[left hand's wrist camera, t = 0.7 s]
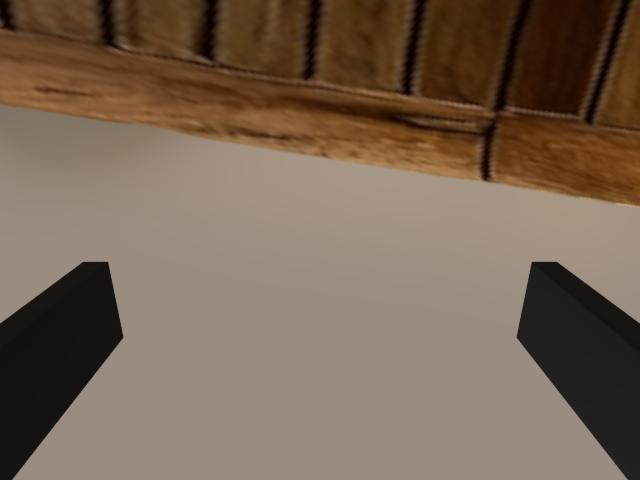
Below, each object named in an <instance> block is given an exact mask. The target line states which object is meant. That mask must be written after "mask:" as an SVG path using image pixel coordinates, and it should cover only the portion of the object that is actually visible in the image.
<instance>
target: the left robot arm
mask: <svg viewBox="0 0 640 480" xmlns="http://www.w3.org/2000/svg"><path fill="white" fill-rule="evenodd" d="M122 339H123V333H122V328H121V323H120V318H119V313H118V308H117V303H116V299H115V294H114V289H113V284H112V279H111V274H110V269H109V264H108V262H82V263H81V264H80V265H78V266H77V267H76V268H74V269H73V270H72V271H70V272H69V273H68V274H66V275H65V276H64V277H62V278H61V279H60V280H58V281H57V282H56V283H54V284H53V285H51V286H50V287H49V288H47V289H46V290H45V291H43V292H42V293H41V294H39V295H38V296H37V297H35V298H34V299H33V300H31V301H30V302H29V303H27V304H26V305H25V306H23V307H22V308H20V309H19V310H18V311H16V312H15V313H14V314H12V315H11V316H10V317H8V318H7V319H6V320H4V321H3V322H2V323H0V480H12V479H13V478H14V477H15V475H16V474H17V473H18V472H19V470H20V469H21V468H22V467H23V465H24V464H25V463H26V461H27V460H28V459H29V458H30V456H31V455H32V454H33V452H34V451H35V450H36V449H37V447H38V446H39V445H40V443H41V442H42V441H43V440H44V438H45V437H46V436H47V434H48V433H49V432H50V431H51V429H52V428H53V427H54V426H55V424H56V423H57V422H58V420H59V419H60V418H61V417H62V415H63V414H64V413H65V411H66V410H67V409H68V408H69V406H70V405H71V404H72V403H73V401H74V400H75V399H76V397H77V396H78V395H79V394H80V392H81V391H82V390H83V388H84V387H85V386H86V385H87V383H88V382H89V381H90V380H91V378H92V377H93V376H94V374H95V373H96V372H97V371H98V369H99V368H100V367H101V366H102V364H103V363H104V362H105V360H106V359H107V358H108V357H109V355H110V354H111V353H112V351H113V350H114V349H115V348H116V346H117V345H118V344H119V342H120V341H121V340H122ZM517 339H518V340H519V341H520V342H521V344H522V345H523V346H524V348H525V349H526V350H527V351H528V353H529V354H530V355H531V357H532V358H533V359H534V360H535V362H536V363H537V364H538V366H539V367H540V368H541V369H542V371H543V372H544V373H545V374H546V376H547V377H548V378H549V380H550V381H551V382H552V383H553V385H554V386H555V387H556V388H557V390H558V391H559V392H560V394H561V395H562V396H563V397H564V399H565V400H566V401H567V403H568V404H569V405H570V406H571V408H572V409H573V410H574V411H575V413H576V414H577V415H578V417H579V418H580V419H581V420H582V422H583V423H584V424H585V426H586V427H587V428H588V429H589V431H590V432H591V433H592V434H593V436H594V437H595V438H596V440H597V441H598V442H599V443H600V445H601V446H602V447H603V449H604V450H605V451H606V452H607V454H608V455H609V456H610V458H611V459H612V460H613V461H614V463H615V464H616V465H617V466H618V468H619V469H620V470H621V472H622V473H623V474H624V475H625V477H626V478H627V479H628V480H640V323H638V322H637V321H636V320H634V319H633V318H632V317H630V316H629V315H628V314H626V313H625V312H624V311H622V310H621V309H620V308H618V307H617V306H615V305H614V304H613V303H611V302H610V301H609V300H607V299H606V298H605V297H603V296H602V295H601V294H599V293H598V292H597V291H595V290H594V289H593V288H591V287H590V286H589V285H587V284H586V283H584V282H583V281H582V280H580V279H579V278H578V277H576V276H575V275H574V274H572V273H571V272H570V271H568V270H567V269H566V268H564V267H563V266H561V265H560V264H559V263H558V262H532V264H531V269H530V274H529V279H528V284H527V289H526V294H525V299H524V303H523V308H522V313H521V318H520V323H519V328H518V333H517Z"/></svg>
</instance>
